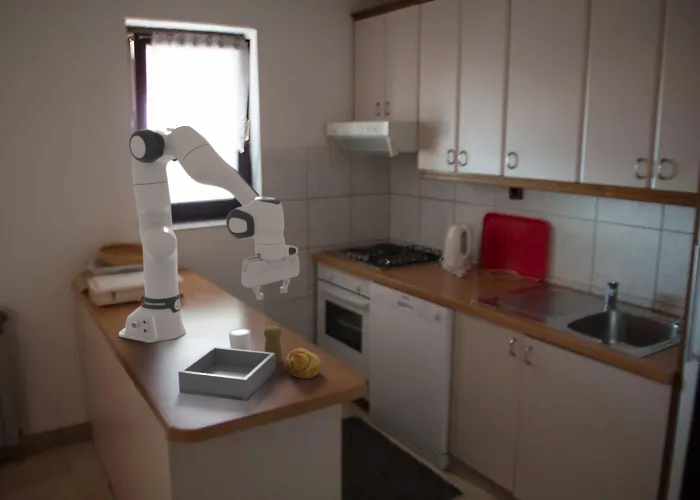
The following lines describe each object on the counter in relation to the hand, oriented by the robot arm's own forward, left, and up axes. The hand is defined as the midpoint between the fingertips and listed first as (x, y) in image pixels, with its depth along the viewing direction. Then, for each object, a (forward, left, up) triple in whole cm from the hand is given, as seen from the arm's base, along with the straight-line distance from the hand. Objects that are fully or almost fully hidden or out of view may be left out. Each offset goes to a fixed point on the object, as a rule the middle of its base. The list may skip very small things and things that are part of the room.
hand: (272, 296), depth 189 cm
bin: (-6, -18, -21) cm, 28 cm away
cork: (0, 0, -21) cm, 21 cm away
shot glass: (-13, +4, -21) cm, 25 cm away
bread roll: (+11, -6, -21) cm, 25 cm away
